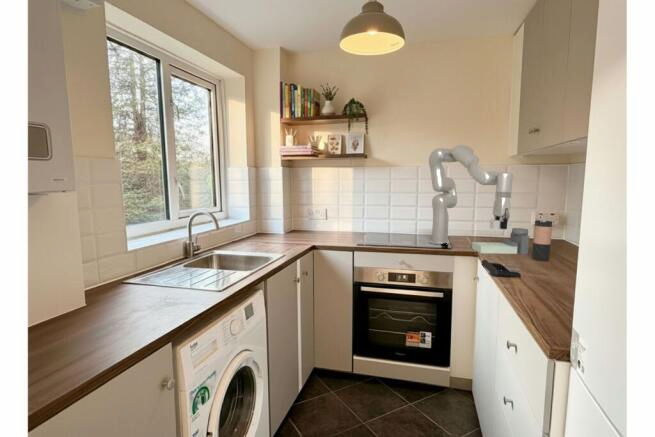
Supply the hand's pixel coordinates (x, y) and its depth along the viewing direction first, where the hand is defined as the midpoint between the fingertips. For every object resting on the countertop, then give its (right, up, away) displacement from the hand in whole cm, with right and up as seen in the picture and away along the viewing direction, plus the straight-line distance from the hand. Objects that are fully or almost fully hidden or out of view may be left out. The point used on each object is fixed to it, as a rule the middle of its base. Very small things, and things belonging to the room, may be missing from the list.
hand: (500, 227), depth 183 cm
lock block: (0, -1, 0) cm, 1 cm away
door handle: (-16, -19, -33) cm, 41 cm away
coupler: (+5, -14, +9) cm, 18 cm away
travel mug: (+16, -17, -10) cm, 25 cm away
